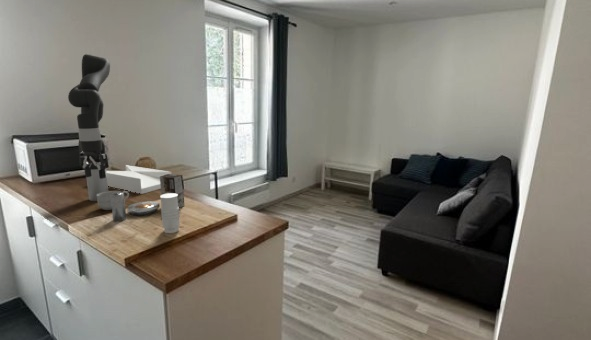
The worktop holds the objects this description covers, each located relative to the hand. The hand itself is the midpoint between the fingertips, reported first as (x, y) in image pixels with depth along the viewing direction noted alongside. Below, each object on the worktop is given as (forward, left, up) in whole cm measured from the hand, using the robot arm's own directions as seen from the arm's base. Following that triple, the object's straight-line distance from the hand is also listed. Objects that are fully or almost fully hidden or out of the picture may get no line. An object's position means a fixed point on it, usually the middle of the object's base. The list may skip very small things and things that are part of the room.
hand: (95, 177), depth 132 cm
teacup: (-15, +15, -21) cm, 30 cm away
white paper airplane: (-49, +47, -21) cm, 71 cm away
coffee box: (+8, +32, -21) cm, 39 cm away
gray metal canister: (+3, +7, -20) cm, 22 cm away
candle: (+33, +11, -21) cm, 40 cm away
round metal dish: (+3, +19, -20) cm, 28 cm away
